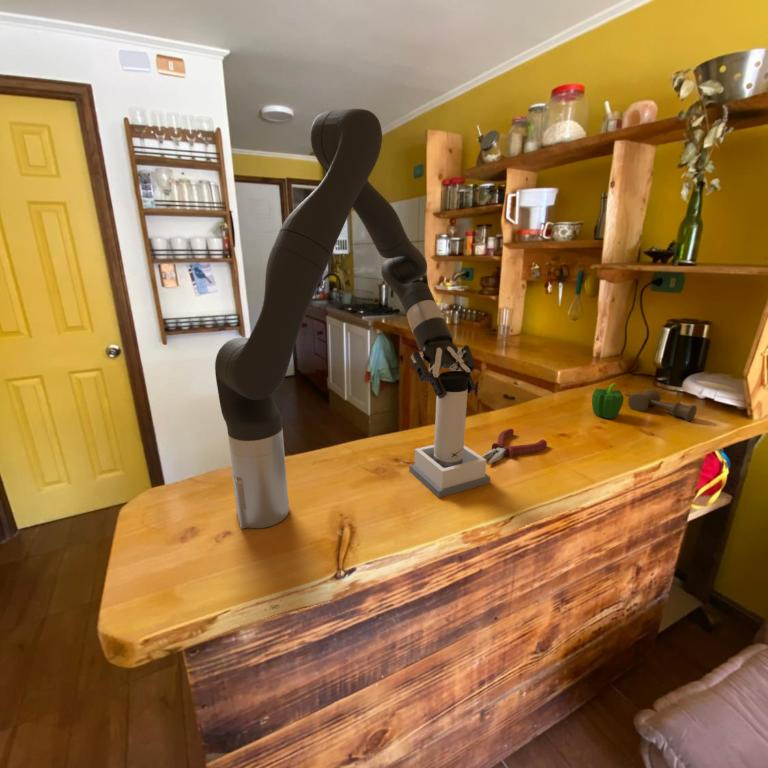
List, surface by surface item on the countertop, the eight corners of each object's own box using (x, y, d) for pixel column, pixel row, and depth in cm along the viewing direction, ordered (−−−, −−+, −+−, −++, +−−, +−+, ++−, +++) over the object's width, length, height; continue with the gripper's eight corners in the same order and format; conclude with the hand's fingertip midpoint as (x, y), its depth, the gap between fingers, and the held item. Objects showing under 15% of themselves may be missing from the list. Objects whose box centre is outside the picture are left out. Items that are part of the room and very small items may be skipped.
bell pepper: (602, 422, 121) (608, 389, 118) (584, 412, 128) (589, 381, 125) (627, 420, 122) (634, 387, 119) (608, 410, 130) (613, 379, 127)
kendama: (684, 427, 119) (614, 405, 134) (698, 420, 124) (629, 400, 140) (690, 407, 117) (618, 387, 132) (703, 401, 122) (633, 383, 138)
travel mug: (461, 469, 86) (468, 377, 80) (430, 464, 88) (434, 374, 82) (466, 456, 92) (472, 369, 86) (436, 451, 94) (441, 366, 88)
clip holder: (438, 498, 83) (439, 473, 82) (409, 471, 94) (409, 449, 92) (489, 483, 89) (491, 460, 87) (456, 459, 99) (458, 438, 97)
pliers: (462, 457, 101) (463, 448, 100) (508, 434, 114) (509, 425, 113) (503, 475, 93) (504, 465, 92) (548, 449, 105) (549, 439, 105)
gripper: (405, 318, 84) (435, 390, 78) (463, 313, 90) (495, 380, 84) (393, 339, 90) (419, 407, 84) (448, 333, 96) (477, 397, 90)
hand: (457, 393), depth 84 cm, fingers closed on travel mug, 6 cm apart
